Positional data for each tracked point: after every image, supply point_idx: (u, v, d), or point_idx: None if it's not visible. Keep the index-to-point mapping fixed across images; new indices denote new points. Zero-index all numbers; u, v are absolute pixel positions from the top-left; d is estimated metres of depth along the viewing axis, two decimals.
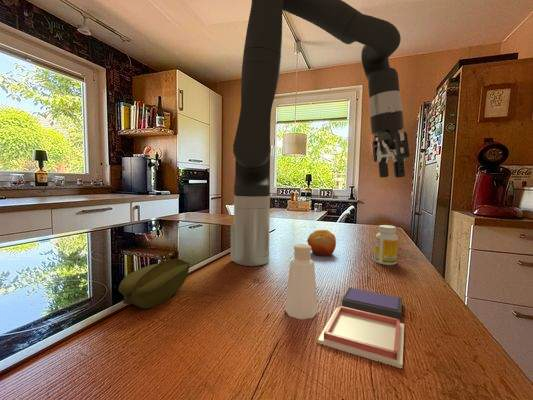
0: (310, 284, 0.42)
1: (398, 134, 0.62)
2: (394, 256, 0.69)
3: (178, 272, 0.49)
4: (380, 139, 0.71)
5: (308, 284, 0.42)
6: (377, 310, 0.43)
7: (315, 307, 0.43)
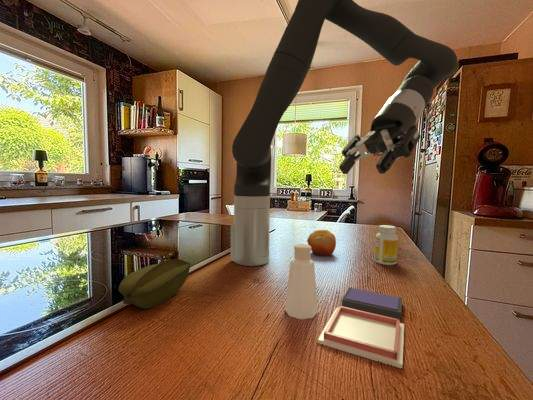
0: (310, 284, 0.42)
1: (416, 128, 0.48)
2: (394, 256, 0.69)
3: (178, 272, 0.49)
4: None
5: (308, 284, 0.42)
6: (377, 310, 0.43)
7: (315, 307, 0.43)
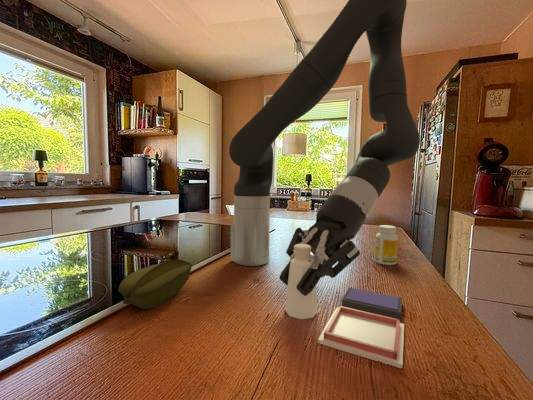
0: None
1: (353, 246, 0.40)
2: (394, 256, 0.69)
3: (179, 273, 0.49)
4: (318, 227, 0.47)
5: None
6: (377, 310, 0.43)
7: (315, 307, 0.43)
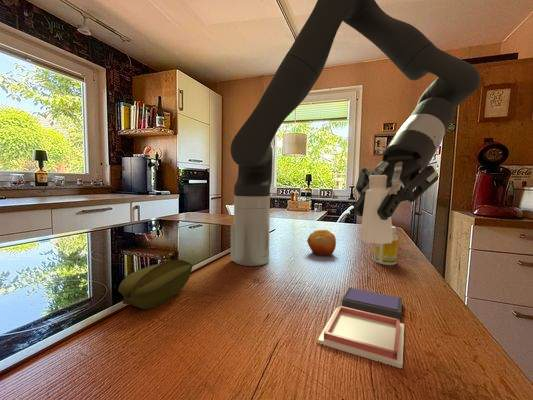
0: None
1: (433, 170, 0.41)
2: (394, 256, 0.69)
3: (179, 273, 0.49)
4: None
5: None
6: (377, 310, 0.43)
7: (391, 233, 0.44)
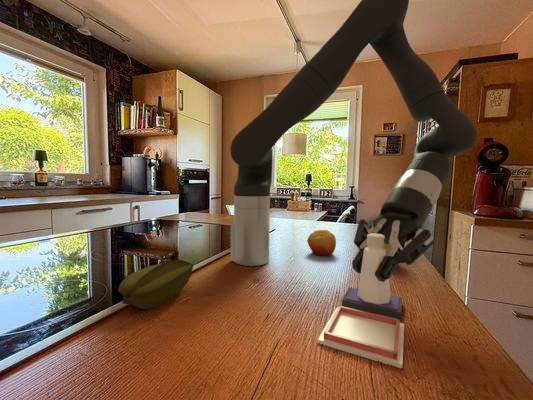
0: None
1: (430, 235, 0.42)
2: None
3: (179, 273, 0.49)
4: (384, 218, 0.50)
5: None
6: (377, 310, 0.43)
7: (389, 293, 0.45)
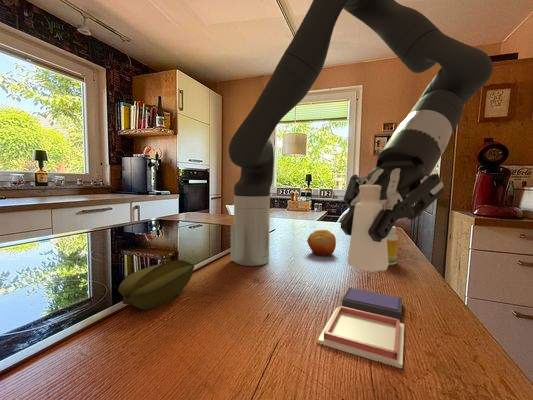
0: None
1: (439, 180, 0.33)
2: (394, 256, 0.69)
3: (180, 273, 0.48)
4: None
5: None
6: (377, 310, 0.43)
7: (387, 258, 0.36)
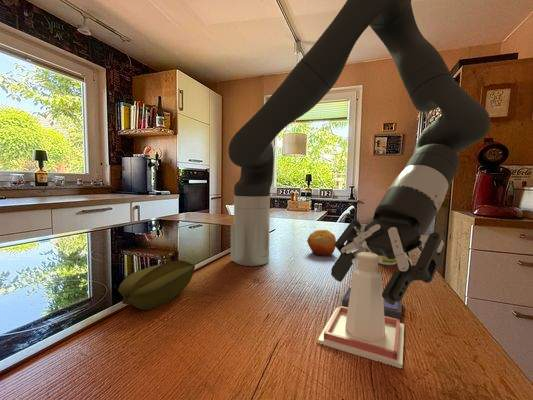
0: (379, 300, 0.36)
1: (440, 238, 0.34)
2: None
3: (180, 274, 0.48)
4: (378, 224, 0.41)
5: (377, 300, 0.36)
6: None
7: (383, 326, 0.37)
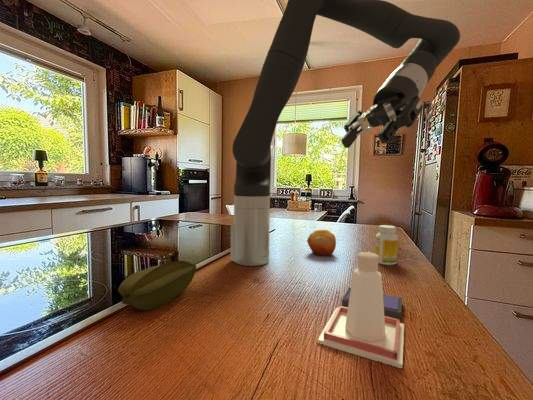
0: (379, 300, 0.36)
1: None
2: (394, 256, 0.69)
3: (181, 274, 0.48)
4: None
5: (377, 300, 0.36)
6: None
7: (383, 326, 0.37)
